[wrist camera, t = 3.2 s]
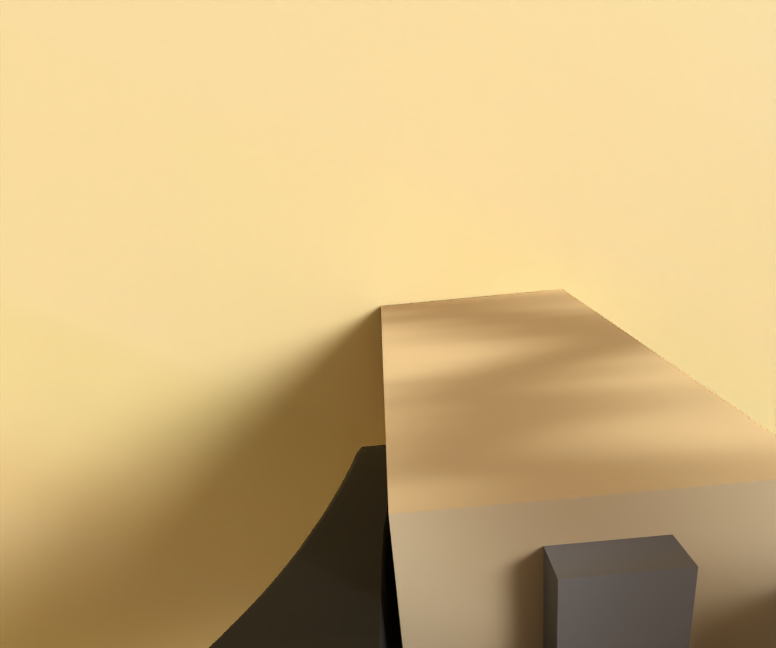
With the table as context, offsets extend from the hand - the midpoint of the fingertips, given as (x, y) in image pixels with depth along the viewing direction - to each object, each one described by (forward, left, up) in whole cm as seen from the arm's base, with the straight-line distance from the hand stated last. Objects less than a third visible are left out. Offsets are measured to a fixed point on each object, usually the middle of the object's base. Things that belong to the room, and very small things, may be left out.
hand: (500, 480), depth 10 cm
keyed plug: (0, 0, -2) cm, 2 cm away
